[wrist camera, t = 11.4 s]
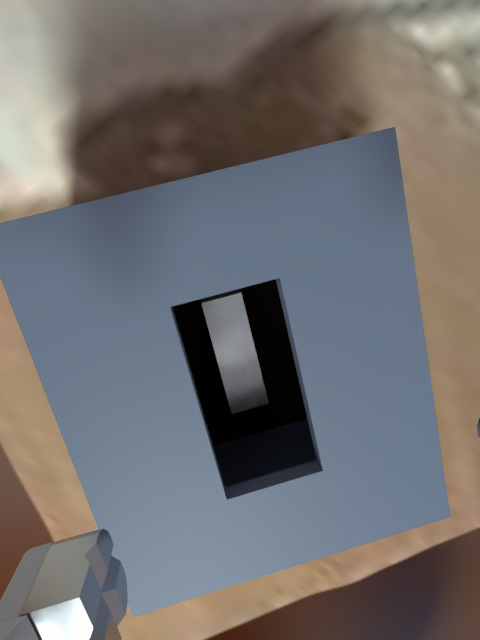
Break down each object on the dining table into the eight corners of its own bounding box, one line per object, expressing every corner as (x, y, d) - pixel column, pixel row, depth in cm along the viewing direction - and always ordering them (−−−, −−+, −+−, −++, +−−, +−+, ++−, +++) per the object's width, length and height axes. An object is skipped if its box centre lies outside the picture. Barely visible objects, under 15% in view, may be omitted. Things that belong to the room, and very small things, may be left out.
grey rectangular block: (199, 289, 24) (201, 303, 19) (231, 281, 24) (241, 292, 19) (223, 380, 25) (231, 414, 20) (254, 371, 25) (268, 403, 21)
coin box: (72, 231, 22) (-19, 227, 13) (309, 173, 23) (394, 126, 13) (154, 474, 26) (133, 617, 16) (356, 415, 27) (450, 516, 17)
